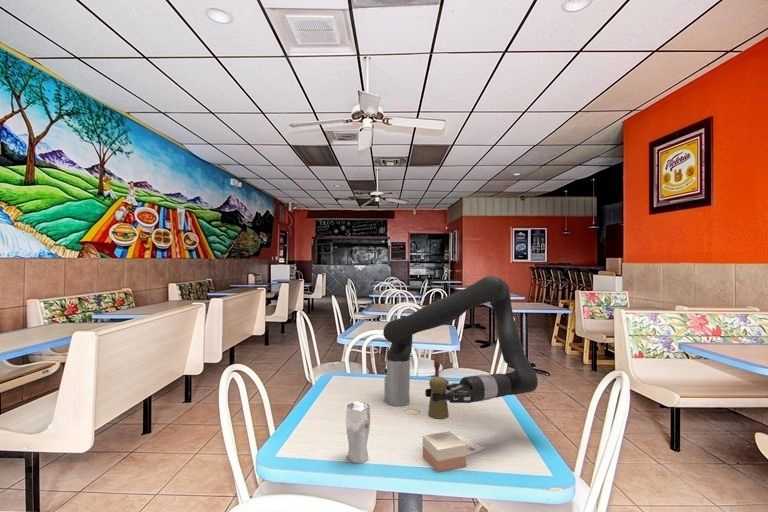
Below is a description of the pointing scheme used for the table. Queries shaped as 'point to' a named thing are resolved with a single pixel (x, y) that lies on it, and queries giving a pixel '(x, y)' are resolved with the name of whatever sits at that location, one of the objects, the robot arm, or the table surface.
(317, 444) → the table surface
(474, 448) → the page
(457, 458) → the brick base
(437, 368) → the hand bell
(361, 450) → the beer glass
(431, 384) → the cork
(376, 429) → the table surface
